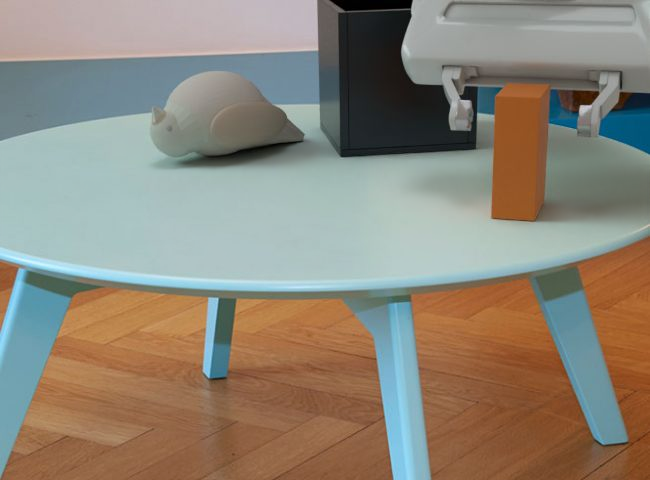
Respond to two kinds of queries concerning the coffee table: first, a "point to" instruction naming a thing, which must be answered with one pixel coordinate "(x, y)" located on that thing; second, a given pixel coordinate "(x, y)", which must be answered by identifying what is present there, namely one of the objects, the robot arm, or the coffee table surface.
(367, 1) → the dark grey square box
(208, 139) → the decorative bird
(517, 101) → the orange tall block
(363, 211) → the coffee table surface
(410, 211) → the coffee table surface
